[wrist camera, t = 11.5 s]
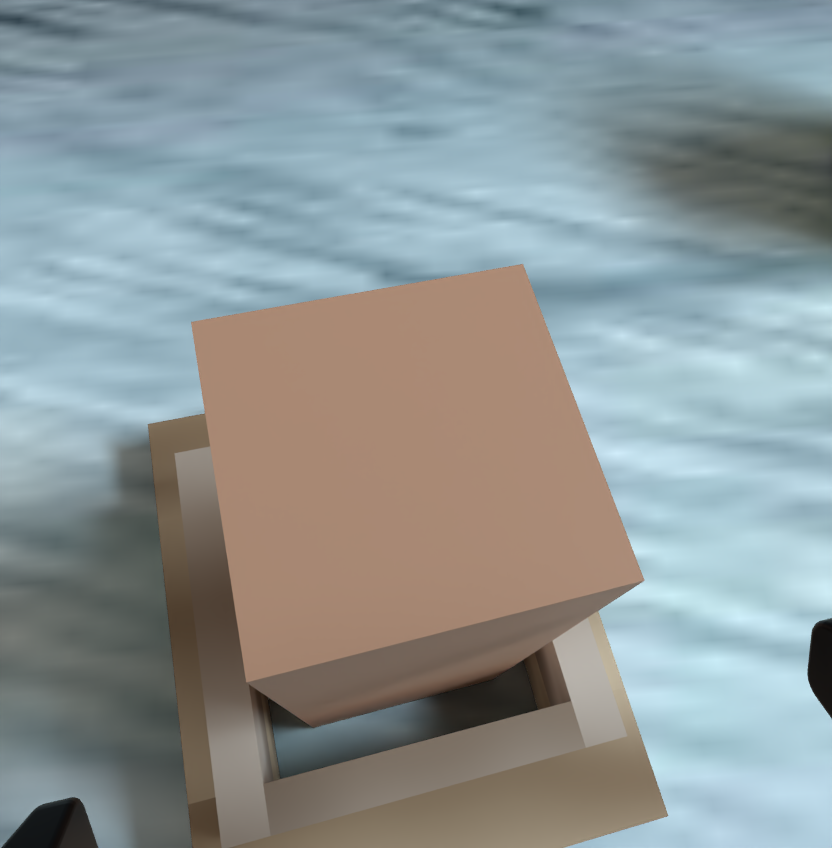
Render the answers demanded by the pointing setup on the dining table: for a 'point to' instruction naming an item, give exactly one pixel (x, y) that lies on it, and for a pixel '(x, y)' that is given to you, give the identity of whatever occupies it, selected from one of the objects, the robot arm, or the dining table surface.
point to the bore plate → (393, 769)
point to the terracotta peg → (403, 491)
